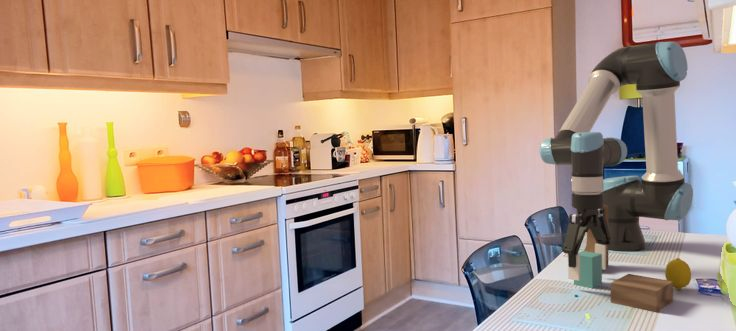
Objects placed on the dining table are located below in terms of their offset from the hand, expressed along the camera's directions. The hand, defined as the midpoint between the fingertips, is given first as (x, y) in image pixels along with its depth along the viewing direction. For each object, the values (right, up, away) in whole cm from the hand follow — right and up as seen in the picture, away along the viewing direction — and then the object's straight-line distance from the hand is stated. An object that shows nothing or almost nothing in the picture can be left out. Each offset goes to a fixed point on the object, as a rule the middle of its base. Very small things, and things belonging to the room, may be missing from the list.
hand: (587, 273), depth 140 cm
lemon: (+19, -3, -7) cm, 21 cm away
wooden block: (+8, -2, +14) cm, 16 cm away
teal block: (0, -3, 0) cm, 3 cm away
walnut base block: (+7, -4, -14) cm, 16 cm away
